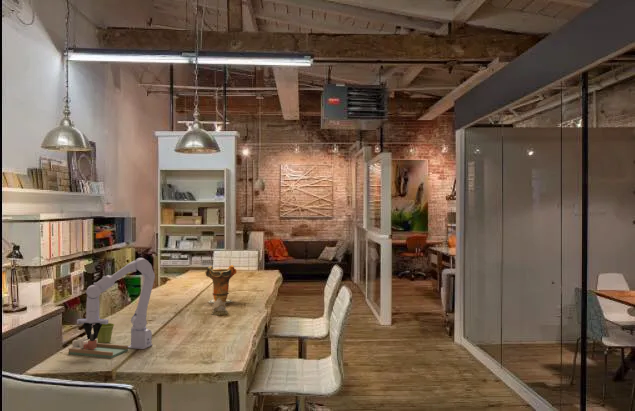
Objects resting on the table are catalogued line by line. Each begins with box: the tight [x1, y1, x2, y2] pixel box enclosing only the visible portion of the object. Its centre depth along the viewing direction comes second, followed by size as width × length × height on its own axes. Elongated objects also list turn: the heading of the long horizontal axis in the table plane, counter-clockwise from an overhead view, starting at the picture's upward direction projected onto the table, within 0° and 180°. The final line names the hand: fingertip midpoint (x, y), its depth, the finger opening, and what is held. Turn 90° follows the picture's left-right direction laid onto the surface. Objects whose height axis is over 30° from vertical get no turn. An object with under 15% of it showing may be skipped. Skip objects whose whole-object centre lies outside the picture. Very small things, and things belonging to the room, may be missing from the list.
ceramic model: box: [211, 298, 229, 316], centre depth 329 cm, size 14×11×10 cm
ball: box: [79, 340, 88, 349], centre depth 238 cm, size 4×4×4 cm
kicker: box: [84, 332, 98, 350], centre depth 237 cm, size 4×6×7 cm, turn 166°
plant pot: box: [96, 322, 115, 344], centre depth 254 cm, size 9×9×9 cm
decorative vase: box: [205, 264, 237, 304], centre depth 370 cm, size 21×23×28 cm
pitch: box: [68, 342, 129, 359], centre depth 236 cm, size 24×12×2 cm, turn 76°
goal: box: [72, 336, 90, 349], centre depth 238 cm, size 5×8×5 cm, turn 166°
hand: (92, 338), depth 236 cm, fingers closed on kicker, 2 cm apart
